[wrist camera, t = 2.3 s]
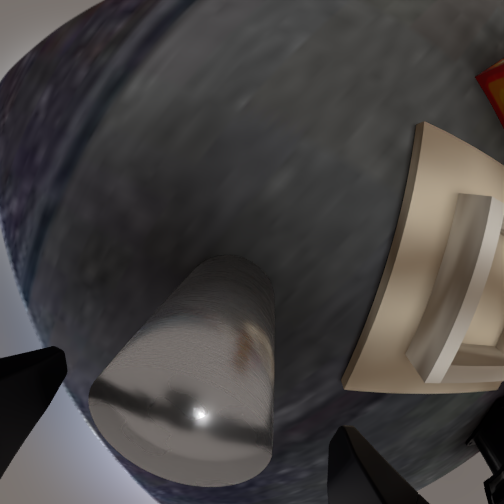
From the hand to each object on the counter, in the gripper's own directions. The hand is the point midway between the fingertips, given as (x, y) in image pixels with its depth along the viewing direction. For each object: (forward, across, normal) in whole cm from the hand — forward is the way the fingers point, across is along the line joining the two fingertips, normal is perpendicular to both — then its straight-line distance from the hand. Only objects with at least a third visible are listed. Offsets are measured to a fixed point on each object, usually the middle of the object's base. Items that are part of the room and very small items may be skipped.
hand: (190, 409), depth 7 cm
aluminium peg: (+9, 0, 0) cm, 9 cm away
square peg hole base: (+9, -16, -4) cm, 19 cm away
